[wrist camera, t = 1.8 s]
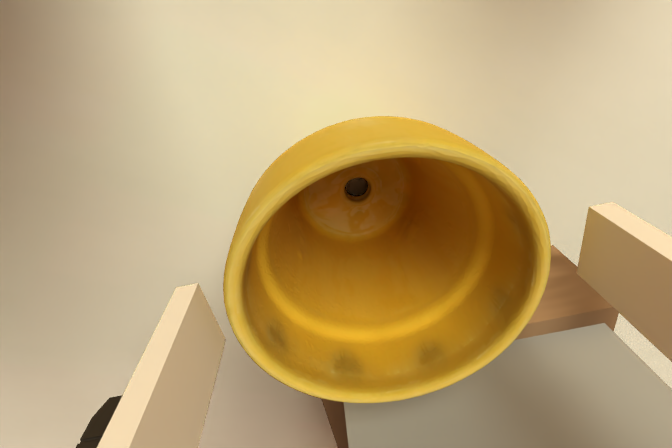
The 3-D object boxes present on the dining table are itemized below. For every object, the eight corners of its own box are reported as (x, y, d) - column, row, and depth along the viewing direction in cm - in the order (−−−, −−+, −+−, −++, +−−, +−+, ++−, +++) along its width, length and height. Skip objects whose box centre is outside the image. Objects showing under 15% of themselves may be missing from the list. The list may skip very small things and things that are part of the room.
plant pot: (384, 34, 16) (476, 46, 8) (475, 199, 21) (595, 320, 12) (215, 164, 19) (142, 283, 10) (330, 287, 23) (347, 440, 15)
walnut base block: (349, 428, 32) (358, 509, 26) (308, 291, 24) (310, 367, 18) (529, 393, 31) (574, 467, 26) (549, 242, 23) (620, 305, 18)
